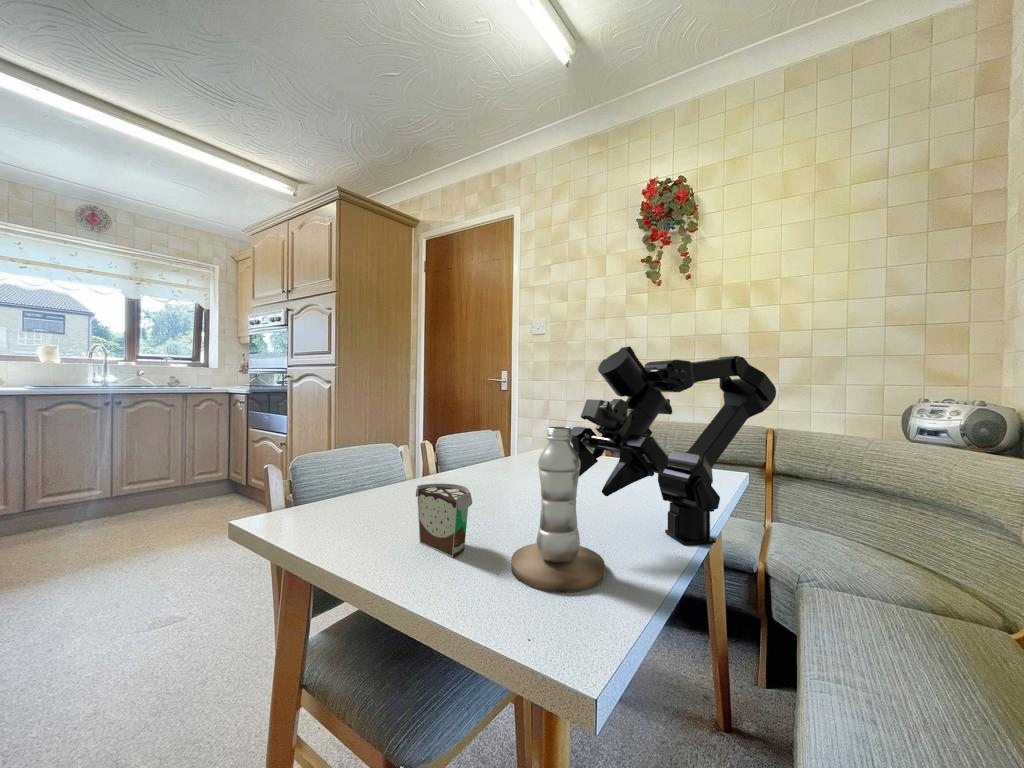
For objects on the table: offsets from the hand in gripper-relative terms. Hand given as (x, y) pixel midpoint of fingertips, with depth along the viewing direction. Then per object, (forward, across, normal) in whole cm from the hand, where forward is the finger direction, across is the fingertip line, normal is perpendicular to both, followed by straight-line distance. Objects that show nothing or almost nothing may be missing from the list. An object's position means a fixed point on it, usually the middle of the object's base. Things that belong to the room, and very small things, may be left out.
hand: (584, 487), depth 63 cm
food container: (+20, -16, -3) cm, 26 cm away
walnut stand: (+12, 0, +5) cm, 13 cm away
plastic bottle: (+11, 0, +4) cm, 12 cm away
